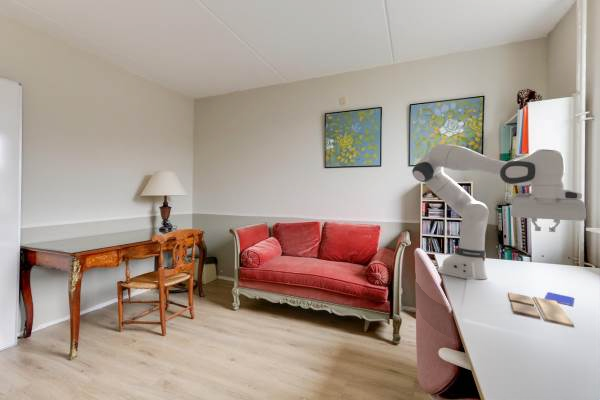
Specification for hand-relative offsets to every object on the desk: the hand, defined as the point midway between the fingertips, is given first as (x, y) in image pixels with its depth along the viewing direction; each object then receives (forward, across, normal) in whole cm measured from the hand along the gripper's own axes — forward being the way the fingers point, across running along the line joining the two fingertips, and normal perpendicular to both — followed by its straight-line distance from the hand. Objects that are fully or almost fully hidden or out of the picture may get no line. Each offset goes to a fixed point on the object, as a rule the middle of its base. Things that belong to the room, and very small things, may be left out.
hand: (544, 231), depth 97 cm
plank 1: (+29, -6, +5) cm, 30 cm away
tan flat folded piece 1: (+29, -6, -7) cm, 30 cm away
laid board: (+29, +2, -1) cm, 29 cm away
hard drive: (+30, +8, +16) cm, 35 cm away
